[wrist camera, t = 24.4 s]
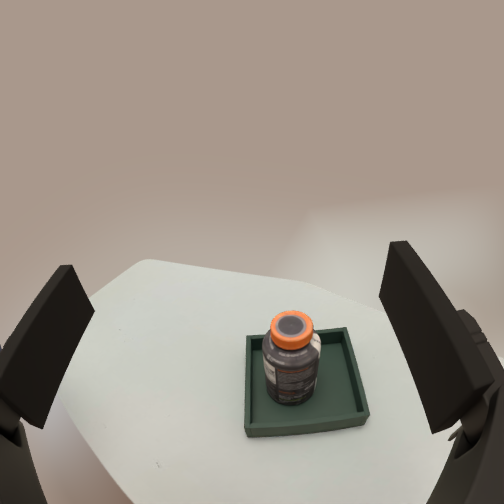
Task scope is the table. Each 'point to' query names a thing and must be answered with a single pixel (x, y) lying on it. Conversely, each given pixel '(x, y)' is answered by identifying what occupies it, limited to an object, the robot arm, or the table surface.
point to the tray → (322, 400)
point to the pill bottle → (291, 358)
